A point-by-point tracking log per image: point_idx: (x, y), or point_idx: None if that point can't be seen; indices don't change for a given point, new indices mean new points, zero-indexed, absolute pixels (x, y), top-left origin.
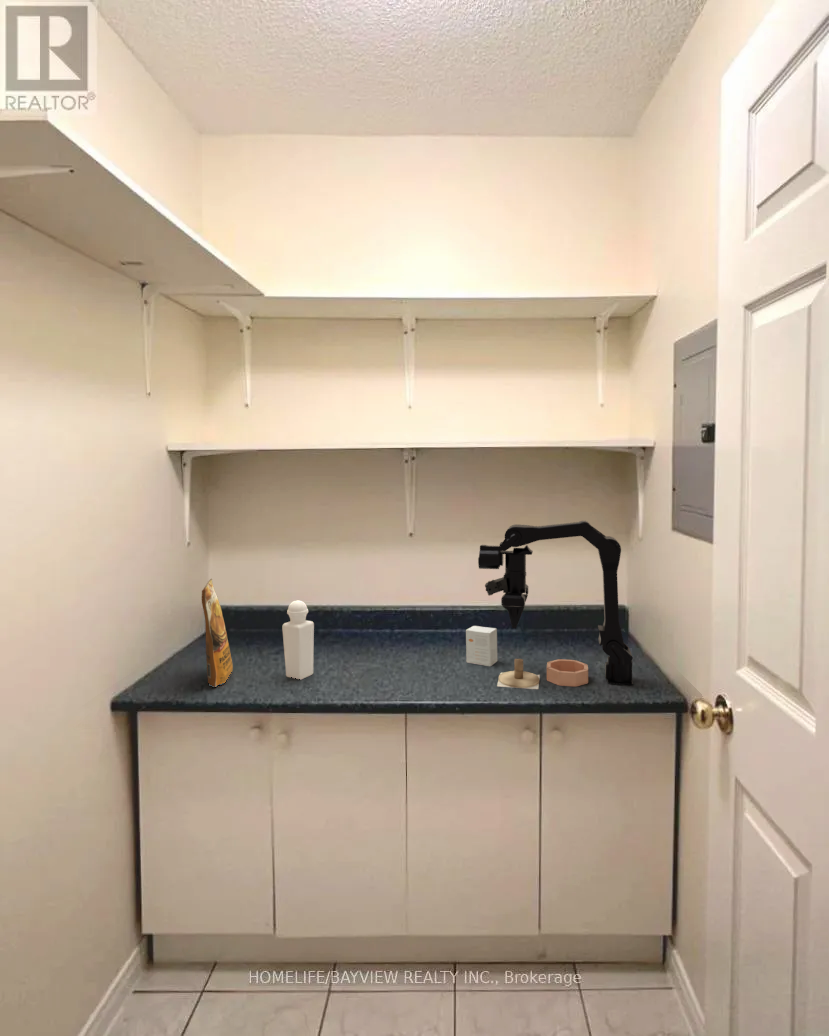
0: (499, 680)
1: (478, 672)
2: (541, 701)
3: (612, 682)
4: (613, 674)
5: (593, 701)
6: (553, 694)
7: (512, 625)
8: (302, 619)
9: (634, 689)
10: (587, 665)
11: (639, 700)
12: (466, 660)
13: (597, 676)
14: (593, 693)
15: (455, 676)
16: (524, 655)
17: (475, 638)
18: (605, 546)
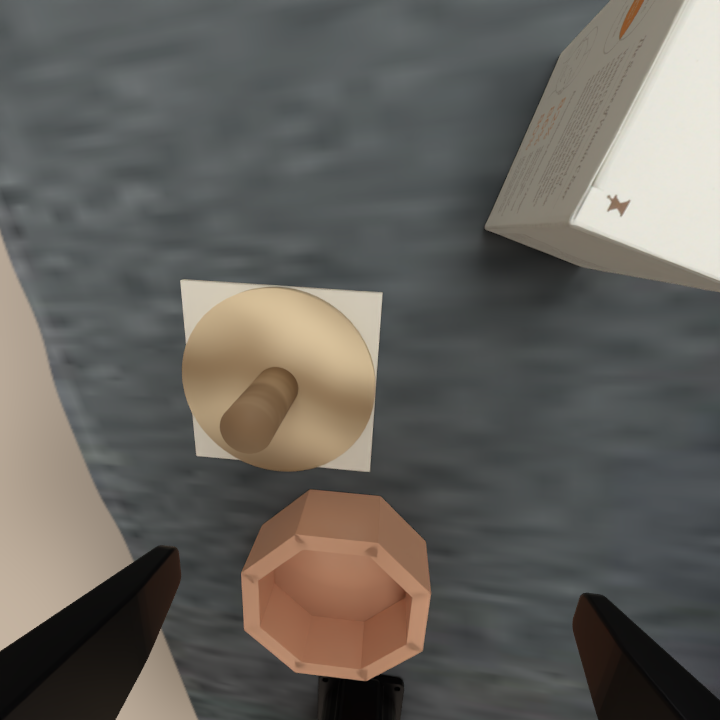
0: (241, 292)
1: (390, 161)
2: (94, 455)
3: (319, 685)
4: (328, 718)
5: None
6: (176, 500)
7: (126, 576)
8: None
9: (290, 717)
10: (354, 679)
11: (202, 708)
12: (569, 44)
13: None
14: (224, 615)
15: (299, 8)
16: (700, 415)
17: (619, 56)
18: None
